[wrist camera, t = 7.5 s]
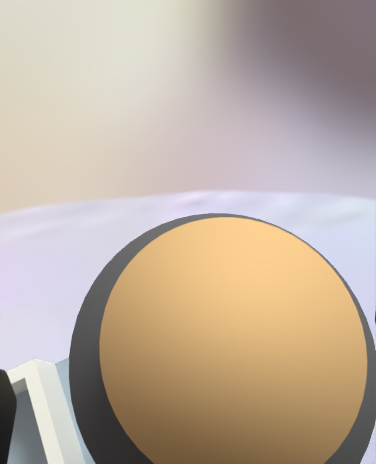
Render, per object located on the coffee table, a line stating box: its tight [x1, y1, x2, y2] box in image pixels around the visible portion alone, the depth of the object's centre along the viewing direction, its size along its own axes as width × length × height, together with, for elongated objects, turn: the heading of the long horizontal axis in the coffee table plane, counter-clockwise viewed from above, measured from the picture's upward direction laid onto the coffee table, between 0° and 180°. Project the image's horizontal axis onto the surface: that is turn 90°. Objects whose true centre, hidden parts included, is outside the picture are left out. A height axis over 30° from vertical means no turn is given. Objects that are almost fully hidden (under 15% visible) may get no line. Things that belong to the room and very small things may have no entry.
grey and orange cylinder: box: [69, 213, 376, 464], centre depth 10 cm, size 4×4×13 cm
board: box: [6, 358, 95, 464], centre depth 14 cm, size 8×15×3 cm, turn 115°
